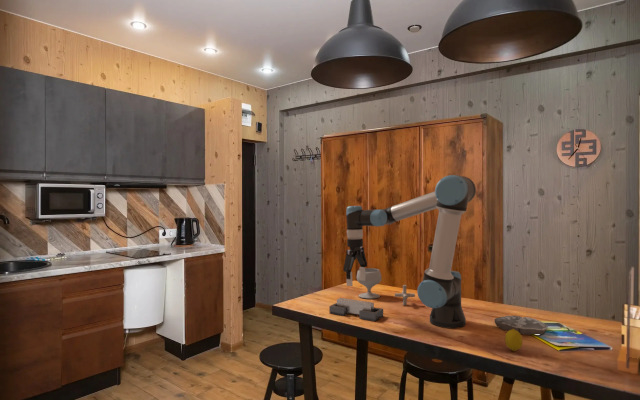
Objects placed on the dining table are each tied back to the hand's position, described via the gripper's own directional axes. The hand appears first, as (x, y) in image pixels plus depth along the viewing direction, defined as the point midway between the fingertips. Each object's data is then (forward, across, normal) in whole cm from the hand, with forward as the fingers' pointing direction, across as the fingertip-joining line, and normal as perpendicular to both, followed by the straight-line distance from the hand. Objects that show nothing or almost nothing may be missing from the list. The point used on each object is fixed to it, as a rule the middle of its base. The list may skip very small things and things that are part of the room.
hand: (356, 283), depth 180 cm
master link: (+14, 0, -1) cm, 14 cm away
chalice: (+15, -34, -10) cm, 39 cm away
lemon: (+17, +10, +67) cm, 70 cm away
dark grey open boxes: (+15, 0, -1) cm, 15 cm away
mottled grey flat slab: (+17, -18, +67) cm, 72 cm away
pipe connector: (+16, -28, +13) cm, 35 cm away
